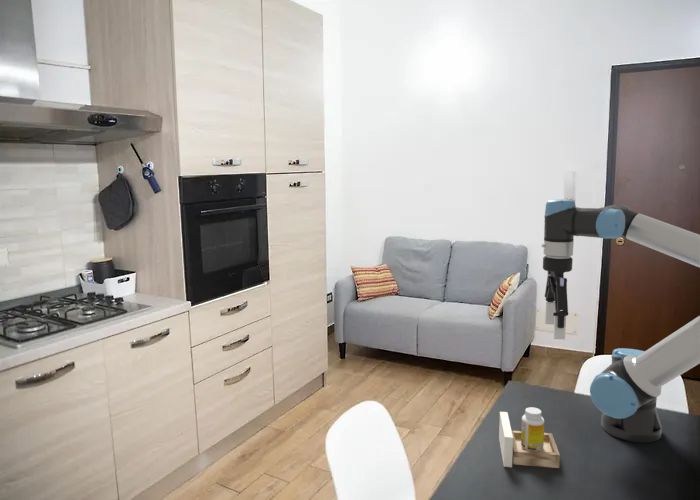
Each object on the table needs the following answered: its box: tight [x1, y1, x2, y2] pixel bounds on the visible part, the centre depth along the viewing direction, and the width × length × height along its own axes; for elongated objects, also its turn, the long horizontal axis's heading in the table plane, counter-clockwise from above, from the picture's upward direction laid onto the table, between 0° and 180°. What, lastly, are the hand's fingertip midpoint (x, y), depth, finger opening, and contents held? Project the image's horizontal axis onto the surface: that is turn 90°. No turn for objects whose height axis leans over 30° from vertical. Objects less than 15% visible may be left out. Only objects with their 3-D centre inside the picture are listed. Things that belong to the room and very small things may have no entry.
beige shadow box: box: [511, 429, 561, 469], centre depth 140 cm, size 11×11×4 cm
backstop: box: [498, 411, 513, 468], centre depth 140 cm, size 2×14×8 cm, turn 169°
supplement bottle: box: [521, 406, 545, 451], centre depth 139 cm, size 6×6×10 cm
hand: (554, 331), depth 150 cm, fingers open, 13 cm apart
